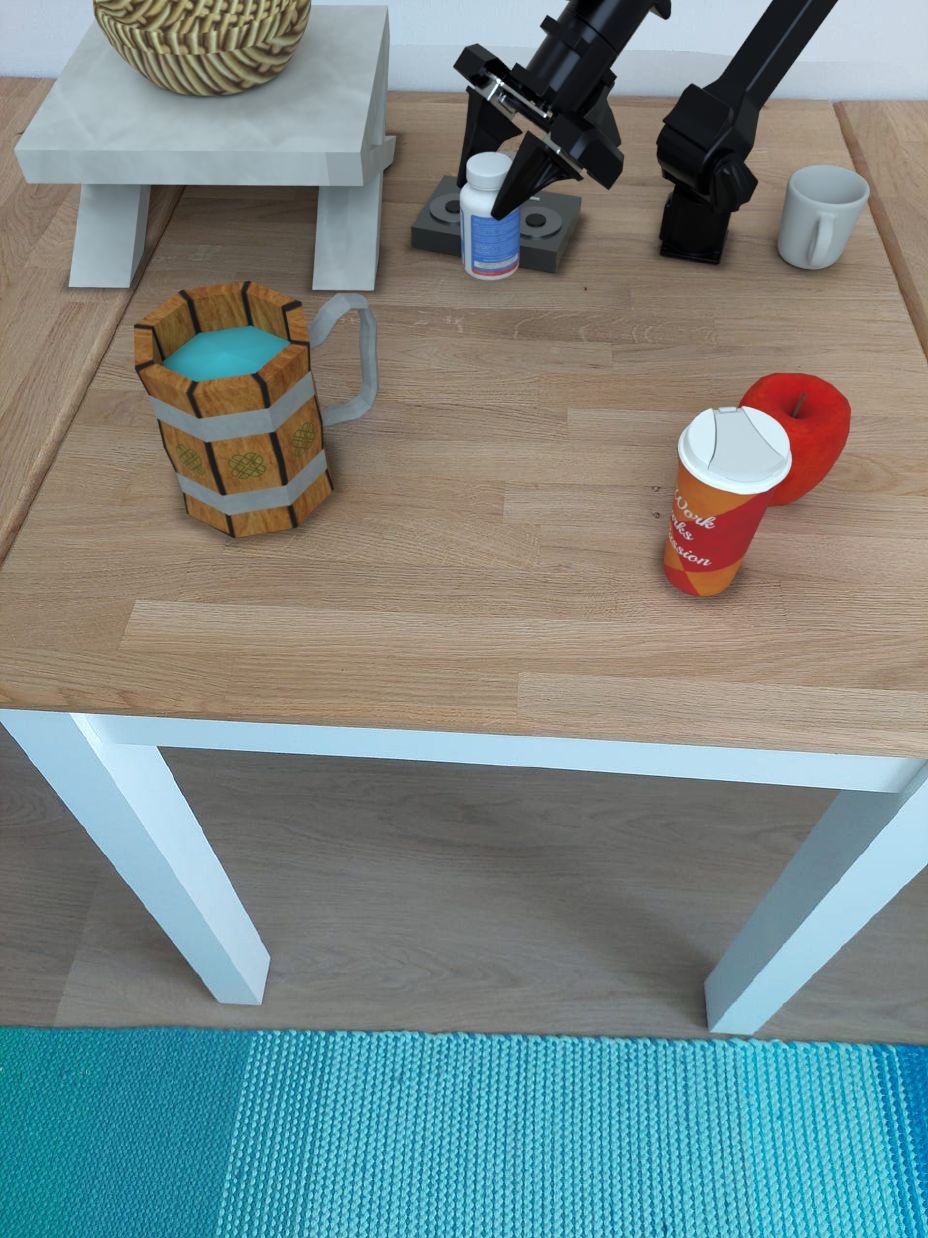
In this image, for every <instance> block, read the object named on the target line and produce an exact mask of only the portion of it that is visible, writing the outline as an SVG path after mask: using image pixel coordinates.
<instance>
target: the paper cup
mask: <svg viewBox="0 0 928 1238" xmlns="http://www.w3.org/2000/svg"><path fill="white" fill-rule="evenodd" d="M678 439H679V440H678V443H677V451H678V456H679V464H678V470H677V476H676V481H675V487H674V493H673V499H672V505H671V512H670V516H669V523H668V529H667V535H666V542H665V548H664V554H663V555H664V556H663V571H664V574H665V576H666V578H667V580H668V581H669V582H670V584H672V585H673V586H674V587H675V588H677V589H678V590H680V591H681V592H683V593H686V594H688V595H691V596H698V597H711V596H714V595H717V594H720V593H721V592H724V591H725V590H726V589H727V588H728V587H729V586H730V584H731V583H732V582H733V580H734V578H735V576H736V574H737V572H738V570H739V568H740V566H741V564H742V562H743V560H744V558H745V556H746V554H747V551H748V549H749V547H750V545H751V543H752V541H753V539H754V536H755V534H756V533H757V531H758V528H759V526H760V524H761V522H762V519H763V517H764V515H765V513H766V511H767V509H768V507H769V506H768V504H769V502H770V500H771V498H772V496H773V494H774V491H775V489H776V487H777V485H778V483H780V482H781V481H782V480H783V479H784V478H785V477H786V475H787V474H788V472H789V470H790V467H791V463H792V456H791V451H790V444H789V439H788V436H787V434H786V432H785V430H784V429H783V427H782V426H781V425H780V424H779V423H778V422H777V421H776V420H775V419H773V418H772V417H771V416H769V415H767V414H765V413H764V412H761V411H759V410H756V409H753V408H750V407H745V406H742V407H741V409H740V408H738V407H736V406H723V407H718V409H713V408H712V407H711V408H708V409H706V410H704V411H702V412H700V413H699V414H698V415H697V416H695V417H694V418H693V420H692V421H691V422H690V423H689V425H688V426H686V427H685V429H684V430H683V431H682V433H681V435H680V436H679V438H678Z"/></svg>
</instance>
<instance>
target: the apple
mask: <svg viewBox="0 0 928 1238" xmlns="http://www.w3.org/2000/svg"><path fill="white" fill-rule="evenodd" d="M742 406H745V407H750V408H753V409H756V410H759V411H761V412H764V413H765V414H767V415H769V416H771V417H772V418H773V419H775V420H776V421H777V422H778V423H779V424H780V425H781V426H782V427H783V429H784V430H785V432H786V434H787V436H788V439H789V444H790V451H791V456H792V463H791V467H790V470H789V472H788V474H787V475H786V477H785V478H784V479H783V480H782V481H781V482H780V483H778V485H777V487H776V489H775V491H774V494H773V496H772V498H771V500H770V502H769V504H768V507H769V508H771V507H778V506H779V507H780V506H781V507H782V506H786V505H788V504H790V503H794V502H795V501H797V500H798V499H800V498H802V497H803V496H805V495H806V494H807V493H809V492H810V491H812V490H813V489H814V488H816V487H817V486H818V485H819V484H820V483H821V482H822V481H823V480H824V479H825V477H826V476H828V474H829V473H830V471H831V470H832V469H833V467H834V466H835V464H836V462H837V461H838V459H839V457H840V456H841V454H842V453H843V450H844V449H845V446H846V445H847V441H848V438H849V434H850V432H851V431H850V430H851V418H852V408H851V405H850V402H849V399H848V398H847V397H846V396H845V395H844V394H843V393H842V392H841V391H840V390H839V389H837V387H836V386H835V385H834V384H832V383H831V382H829V381H827V380H825V379H823V378H821V377H819V376H817V375H814V374H810V373H809V374H808V373H802V372H773V373H770V374H767V375H764V376H763V375H762V376H760V377H759V378H758V380H756V381H755V382H754V383H753V384H752V385H750V387H749V388H748V389H747V391H746V392H745V393H744V395H743V396H742V398H741V399H740V401H739V404H738V407H737V408H740V409H741V407H742Z"/></svg>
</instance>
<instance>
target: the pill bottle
mask: <svg viewBox="0 0 928 1238" xmlns="http://www.w3.org/2000/svg"><path fill="white" fill-rule="evenodd" d="M511 164H512V160H511V159H510V158H509V157H508V156H507V155H505V154H502V153H499V152H498V151H497V152H484V153H480V154H476V155H474V156H472V157H471V158H470V159H469V160H468V162H467V175H466V177H467V181H468V182H467V183H466V184H465V185H464V187H463V188H462V190H461V193H460V223H461V250H462V257H461V264H462V267H463V270H464V271H465V272H466V273H467V274H468V275H469V276H470V277H473V278H474V279H476V280H481V281H499V280H503V279H506V278H509V277H510V276H512V275H513V274H514V273H515V272H516V271H517V270H518V268H519V267H518V265H519V258H520V209H521V205H520V206H519V207H518V208H516V209H515V210H514V211H512V212H511V213H510V214H508V215H507V216H506V217H504V218H503V219H502V220H500V221H497V220H496V219H494V218H493V217H492V216H491V210H492V208H493V205H494V202H495V199H496V197H497V194H498V192H499V190H500V188H501V186H502V184H503V182H504V179H505V177H506V175H507V173H508V171H509V169H510V166H511Z"/></svg>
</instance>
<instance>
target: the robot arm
mask: <svg viewBox="0 0 928 1238" xmlns="http://www.w3.org/2000/svg"><path fill="white" fill-rule="evenodd" d="M566 1H568V2H567V4H566V5H565V7H564V8H563V10H562V11H561V13H560V14H559V16H558V17H557V19H555V18H553V17H552V16H550V14H549V15H548V14H545V17H544V18H543V20H542V21H541V23H540V25H539V28H540V29H541V30H542V31H543V32H544V33H545V34H546V36H545V37H544V39H543V41H542V42H541V43H540V45H539V46H538V48H537V50H536V51H535V53H534V54H533V55H532V57H531V59H530V61H529V62H528V63H527V65H526V66H523V65H521V64H520V63H518V62H515V63H514V65H513V66H512V68H510V67H508V65H506V63H505V62H503V61H502V59H500V58H499V57H498V56H497V55H495V54H494V53H493V52H491V51H489V50H488V49H487V48H485V47H484V46H482V45H481V44H479V43H478V42H476V43H474V44H470V45H467V46H464V47H463V50H462V51H461V53H459V56H458V57H457V59H456V60H455V62H454V64H453V66H452V68H453V69H454V70H455V71H456V72H457V73H459V74H460V76H462V77H463V78H464V79H465V80H466V81H467V82H469V83H470V84H471V85H472V86H473V87H474V88H473V87H472V86H471V85H469V84H467V86H466V88H465V89H464V90H465V92H466V93H467V94H468V101H467V109H466V120H465V129H464V136H463V142H462V149H461V154H460V161H459V167H458V173H457V176H456V177H457V183H456V184H457V186H458V187H459V188H460V189H461V190H462V188H463V187H464V185H465V184H466V183H467V182H468V181H467V177H466V175H467V162H468V160H469V159H470V158H471V157H472V156H474V155H476V154H480V153H484V152H497V153H498V150H499V149H500V148H501V147H502V145H503V144H504V143H505V142H506V141H508V140H511V139H513V138H516V137H518V136H520V135H522V134H524V131H523V130H522V129H521V128H520V127H519V126H517V125H516V124H515V123H514V122H513V119H514V118H515V116H516V115H517V113H518V114H520V116H522V117H523V118H524V119H526V120H527V121H529V122H530V123H532V124H533V125H534V126H536V128H538V129H540V131H542V132H544V133H545V135H544V136H543V138H542V139H541V138H539V136H537V135H535V134H534V133H533V132H532V131H530V130H529V129H527V130H526V131H525V134H524V135H523V136H524V137H523V138H522V141H521V142H520V145H519V147H518V148H517V151H516V156H515V158H514V160H513V162H512V164H511V166H510V169H509V171H508V173H507V175H506V177H505V179H504V182H503V184H502V186H501V188H500V190H499V192H498V194H497V197H496V199H495V202H494V205H493V208H492V210H491V216H492V217H493V218H494V219H496V220H497V221H500V220H502V219H503V218H504V217H506V216H507V215H508V214H510V213H511V212H512V211H514V210H515V209H516V208H518V207H519V206H520V205H522V204H523V203H524V202H526V201H527V200H528V199H530V198H531V197H532V196H534V195H535V194H536V193H538V192H539V191H543V190H544V189H545V188H547V187H549V186H550V185H552V184H554V183H555V182H560V181H568V180H575V181H576V182H581V181H583V180H585V177H584V176H582V174H581V173H582V171H583V170H585V171H586V174H587V176H589V177H590V178H591V179H592V180H594V181H595V182H597V183H598V184H599V185H601V187H603V188H604V189H606V190H607V191H610V190H611V188H612V187H613V186H614V184H615V183H616V182H617V180H618V179H619V177H620V176H621V175H622V173H623V171H624V163H625V154H624V153H623V152H622V151H621V150H620V148H619V147H620V146H621V145H622V138H621V135H620V131H619V128H618V125H617V121H616V118H615V114H614V112H613V109H612V108H611V107H610V104H609V102H608V101H609V100H608V96H609V95H610V92H612V90H613V88H614V87H615V85H616V82H615V81H616V80H617V79H618V76H617V74H616V73H615V72H614V71H613V70H612V69H611V68H612V67H613V65H615V62H616V61H617V59H619V56H620V55H621V53H623V51H624V49H625V48H626V46H627V45H628V43H629V42H630V41H631V40H632V38H633V36H634V35H635V34H636V32H637V30H638V29H639V28H640V26H641V25H642V23H643V22H644V20H645V19H646V17H647V16H648V15H649V13H652V14H653V15H655V16H657V17H659V18H660V19H662V20H664V21H667V20H669V19H670V18H671V16H672V0H566ZM838 2H839V0H771V2H770V3H769V4H768V6H767V7H766V8H765V10H764V12H763V13H762V14H761V16H760V17H759V19H758V21H757V22H756V23H755V25H754V26H753V28H752V30H751V31H750V32H749V33H748V34H747V37H746V38H745V40H744V41H743V43H742V44H741V45H740V47H739V49H738V50H737V51H736V53H735V54H734V56H733V57H732V59H731V60H730V62H729V63H728V64H727V65H726V68H724V71H722V73H721V74H720V76H719V77H718V78H716V79H715V80H714V81H712V82H710V83H709V84H707V85H704V86H703V87H702V88H701V87H700V86H698V84H695V83H693V82H692V83H690V84H689V85H687V86H686V88H684V89H683V90H682V93H681V95H680V96H679V98H678V100H677V102H676V104H674V106H673V108H672V109H671V110H670V112H669V113H668V114H667V115H666V116H665V117H663V118H662V123H663V124H664V125H662V127H661V130H660V131H659V133H658V135H657V137H656V139H655V140H656V141H655V145H656V154H655V155H656V161H657V164H658V165H659V166H660V170H661V176H662V179H664V180H665V181H669V182H670V183H672V184H673V185H674V186H673V190H672V191H670V192H669V193H668V194H667V196H666V197H667V198H666V200H665V203H664V206H663V212H662V217H661V223H660V227H659V228H660V230H659V234H658V239H659V241H661V245H660V248H659V252H658V253H659V255H660V256H663V257H668V258H675V259H681V260H685V261H686V260H687V261H693V262H697V263H702V264H703V263H704V264H710V265H720V264H721V262H722V259H723V255H724V250H725V247H726V243H727V240H728V236H729V233H730V230H729V225H730V222H731V217H732V213H737V212H740V208H741V206H743V205H745V204H747V203H749V202H750V201H751V199H752V197H753V195H754V193H755V191H756V188H757V187H758V184H759V179H758V178H757V177H756V175H755V174H754V173H753V172H752V171H751V169H750V168H749V167H748V165H747V164H746V163H745V162H746V160H747V159H748V157H749V155H750V153H751V152H752V150H753V148H754V147H755V140H756V135H757V129H758V124H759V116H760V113H761V110H763V109H762V108H763V107H764V105H765V104H766V102H767V101H768V100H769V98H770V97H771V95H772V94H773V93H774V92H775V90H776V89H777V87H778V85H779V84H781V81H783V79H784V77H786V75H787V73H788V72H789V70H790V69H791V67H792V66H793V65H794V63H795V62H796V60H797V59H798V58H799V56H800V55H801V53H802V52H803V51H804V49H805V48H806V47H807V45H808V44H809V42H810V41H811V39H812V38H813V36H814V35H815V34H816V33H817V31H818V30H819V28H820V27H821V25H822V24H823V23H824V22H825V20H826V18H827V17H828V16H829V15H830V13H831V11H833V9H834V7H835V6H836V4H837V3H838ZM548 112H549V114H551V116H549V115H548V114H547V113H548Z"/></svg>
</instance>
